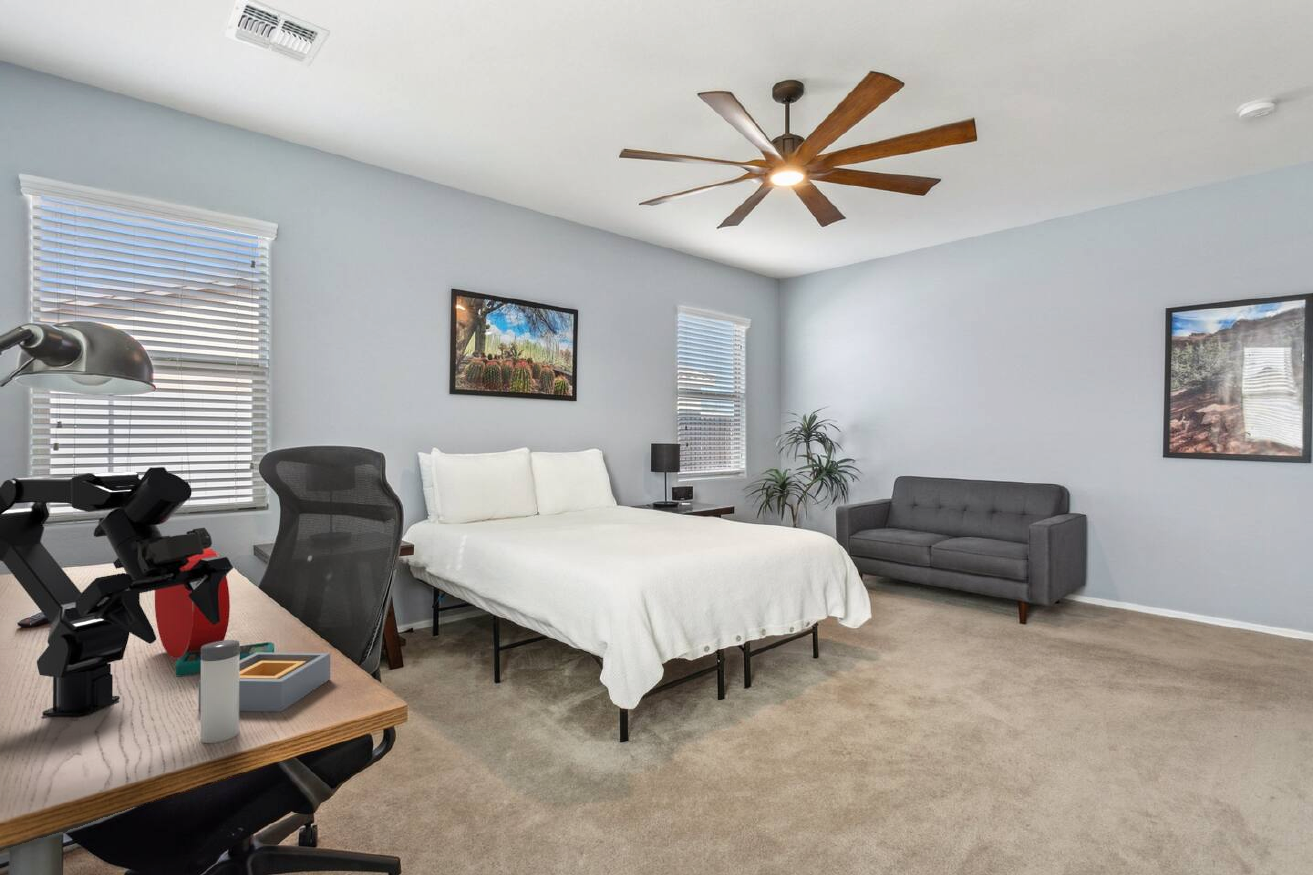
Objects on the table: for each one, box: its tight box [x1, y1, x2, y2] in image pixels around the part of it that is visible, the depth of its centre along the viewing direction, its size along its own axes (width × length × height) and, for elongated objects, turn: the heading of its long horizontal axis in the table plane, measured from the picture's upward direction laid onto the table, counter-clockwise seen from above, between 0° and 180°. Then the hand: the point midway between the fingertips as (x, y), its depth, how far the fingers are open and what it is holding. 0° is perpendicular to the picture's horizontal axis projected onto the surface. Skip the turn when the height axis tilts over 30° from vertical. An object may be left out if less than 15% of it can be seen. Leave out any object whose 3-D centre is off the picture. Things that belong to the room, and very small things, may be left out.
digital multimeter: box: [174, 641, 275, 677], centre depth 117 cm, size 7×15×3 cm, turn 115°
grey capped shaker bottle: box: [200, 639, 240, 744], centre depth 88 cm, size 4×4×12 cm
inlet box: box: [197, 652, 331, 713], centre depth 103 cm, size 13×13×4 cm
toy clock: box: [154, 547, 231, 660], centre depth 123 cm, size 20×6×20 cm, turn 54°
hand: (186, 632), depth 92 cm, fingers open, 9 cm apart
